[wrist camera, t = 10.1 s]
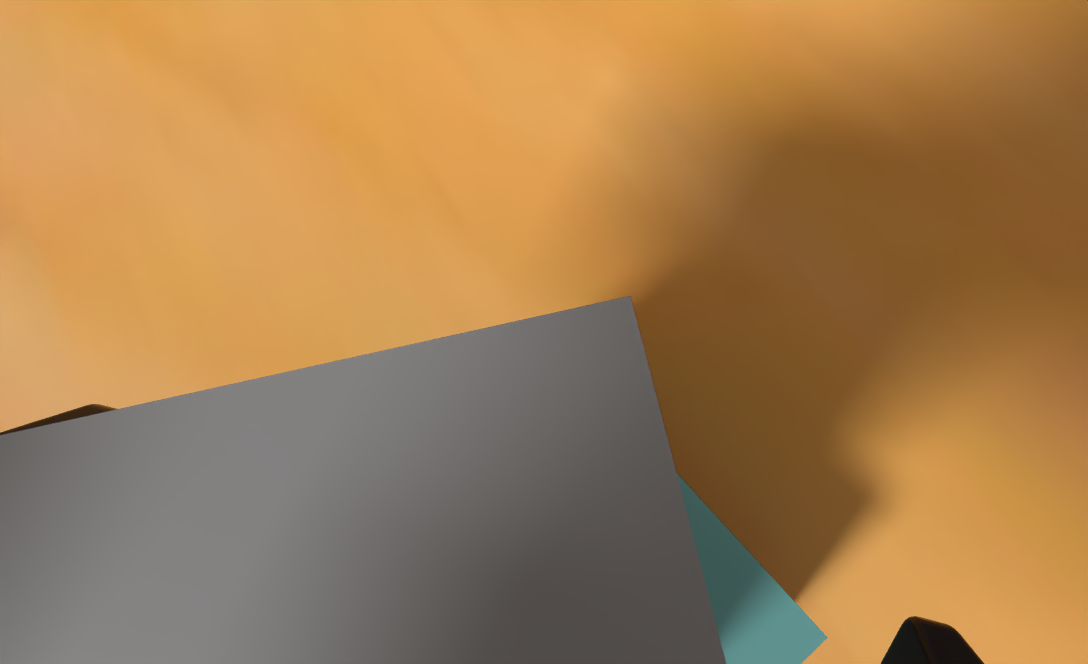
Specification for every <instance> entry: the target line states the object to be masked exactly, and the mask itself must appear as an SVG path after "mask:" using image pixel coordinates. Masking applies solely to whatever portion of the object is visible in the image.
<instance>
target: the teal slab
mask: <svg viewBox="0 0 1088 664" xmlns="http://www.w3.org/2000/svg"><path fill="white" fill-rule="evenodd" d="M677 476H678V480H679V484H680V488H681V492H682V495H683V499H684V503H685V507H686V511H687V515H688V518H689V522H690V526H691V530H692V534H693V537H694V541H695V545H696V549H697V553H698V557H699V560H700V564H701V568H702V572H703V576H704V580H705V583H706V587H707V591H708V595H709V599H710V603H711V606H712V610H713V614H714V618H715V622H716V626H717V629H718V633H719V637H720V641H721V645H722V648H723V652H724V656H725V660H726V664H801V663H802V662H803V661H804V660H805V659H806V658H807V657H808V656H809V655H810V654H811V653H812V652H813V651H814V650H815V649H816V648H817V647H818V646H819V645H820V644H821V643H822V642H823V641H824V640H826V639H827V636H826V635H825V634H824V633H823V632H822V631H821V630H820V629H819V628H818V627H817V626H816V624H815V623H814V622H813V621H812V620H811V619H810V618H809V617H808V616H807V615H806V614H805V612H804V611H803V610H802V609H801V608H800V607H799V606H798V605H797V604H796V603H795V602H794V600H793V599H792V598H791V597H790V596H789V595H788V594H787V593H786V592H785V591H784V590H783V588H782V587H781V586H780V585H779V584H778V583H777V582H776V581H775V580H774V579H773V577H772V576H771V575H770V574H769V573H768V572H767V571H766V570H765V569H764V568H763V567H762V565H761V564H760V563H759V562H758V561H757V560H756V559H755V558H754V557H753V556H752V555H751V553H750V552H749V551H748V550H747V549H746V548H745V547H744V546H743V545H742V544H741V543H740V541H739V540H738V539H737V538H736V537H735V536H734V535H733V534H732V533H731V532H730V530H729V529H728V528H727V527H726V526H725V525H724V524H723V523H722V522H721V521H720V520H719V518H718V517H717V516H716V515H715V514H714V513H713V512H712V511H711V510H710V509H709V508H708V506H707V505H706V504H705V503H704V502H703V501H702V500H701V499H700V498H699V497H698V496H697V494H696V493H695V492H694V491H693V490H692V489H691V488H690V487H689V486H688V485H687V484H686V482H685V481H684V480H683V479H682V478H681V477H680V476H679V475H678V474H677Z"/></svg>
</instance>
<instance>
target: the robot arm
mask: <svg viewBox="0 0 1088 664" xmlns="http://www.w3.org/2000/svg"><path fill="white" fill-rule="evenodd" d="M112 410H117V409H115V408H111V407H107V406H103V405H98V404H91V405H87V406H83V407H80V408H77V409H74V410H71V411H67V412H64V413H61V414H58V415H55V416H52V417H48V418H45V419H42V420H39V421H36V422H32V423H29V424H26V425H23V426H20V427H17V428H13V429H10V430H7V431H4V432H1V433H0V435H4V434H8V433H13V432H17V431H22V430H26V429H31V428H35V427H40V426H44V425H49V424H54V423H58V422H63V421H67V420H72V419H76V418H81V417H85V416H90V415H94V414H99V413H103V412H108V411H112ZM881 664H984V663H983V661H982V660H981V659H980V658H979V657H978V655H977V654H976V653H975V652H974V650H973V649H972V648H971V647H970V646H969V644H968V643H967V642H966V641H965V640H964V638H963V637H962V636H961V635H960V634H959V633H958V632H957V631H956V630H955V629H954V628H953V627H951V626H949V625H947V624H944V623H940V622H936V621H932V620H929V619H925V618H921V617H917V616H913V617H909V618H907V619H906V620H905V621H904V623H903V624H902V625H901V627H900V629H899V631H898V633H897V635H896V636H895V638H894V640H893V642H892V644H891V646H890V647H889V649H888V651H887V653H886V655H885V657H884V658H883V660H882V662H881Z"/></svg>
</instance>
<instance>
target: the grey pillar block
mask: <svg viewBox="0 0 1088 664" xmlns="http://www.w3.org/2000/svg"><path fill="white" fill-rule="evenodd" d="M0 664H726V660H725V656H724V652H723V648H722V645H721V641H720V637H719V633H718V629H717V626H716V622H715V618H714V614H713V610H712V606H711V603H710V599H709V595H708V591H707V587H706V583H705V580H704V576H703V572H702V568H701V564H700V560H699V557H698V553H697V549H696V545H695V541H694V537H693V534H692V530H691V526H690V522H689V518H688V515H687V511H686V507H685V503H684V499H683V495H682V492H681V488H680V484H679V480H678V476H677V472H676V469H675V465H674V461H673V457H672V453H671V449H670V446H669V442H668V438H667V434H666V430H665V426H664V423H663V419H662V415H661V411H660V407H659V404H658V400H657V396H656V392H655V388H654V384H653V381H652V377H651V373H650V369H649V365H648V361H647V358H646V354H645V350H644V346H643V342H642V338H641V335H640V331H639V327H638V323H637V319H636V315H635V312H634V308H633V304H632V300H631V296H628V297H623V298H619V299H614V300H610V301H605V302H601V303H596V304H592V305H587V306H583V307H578V308H574V309H569V310H565V311H560V312H555V313H551V314H546V315H542V316H537V317H533V318H528V319H524V320H519V321H515V322H510V323H506V324H501V325H497V326H492V327H488V328H483V329H479V330H474V331H470V332H465V333H461V334H456V335H451V336H447V337H442V338H438V339H433V340H429V341H424V342H420V343H415V344H411V345H406V346H402V347H397V348H393V349H388V350H384V351H379V352H375V353H370V354H366V355H361V356H357V357H352V358H347V359H343V360H338V361H334V362H329V363H325V364H320V365H316V366H311V367H307V368H302V369H298V370H293V371H289V372H284V373H280V374H275V375H271V376H266V377H262V378H257V379H253V380H248V381H243V382H239V383H234V384H230V385H225V386H221V387H216V388H212V389H207V390H203V391H198V392H194V393H189V394H185V395H180V396H176V397H171V398H167V399H162V400H158V401H153V402H148V403H144V404H139V405H135V406H130V407H126V408H121V409H117V410H112V411H108V412H103V413H99V414H94V415H90V416H85V417H81V418H76V419H72V420H67V421H63V422H58V423H54V424H49V425H44V426H40V427H35V428H31V429H26V430H22V431H17V432H13V433H8V434H4V435H0Z"/></svg>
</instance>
